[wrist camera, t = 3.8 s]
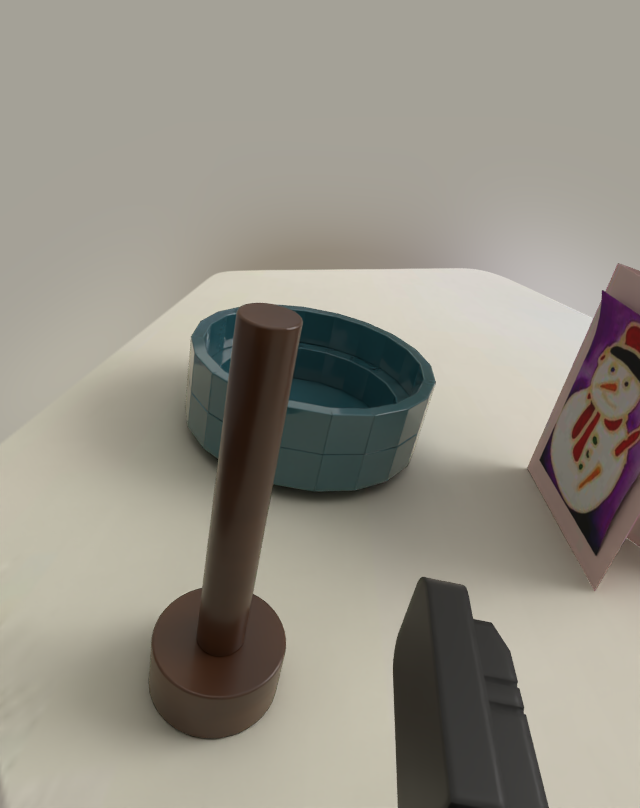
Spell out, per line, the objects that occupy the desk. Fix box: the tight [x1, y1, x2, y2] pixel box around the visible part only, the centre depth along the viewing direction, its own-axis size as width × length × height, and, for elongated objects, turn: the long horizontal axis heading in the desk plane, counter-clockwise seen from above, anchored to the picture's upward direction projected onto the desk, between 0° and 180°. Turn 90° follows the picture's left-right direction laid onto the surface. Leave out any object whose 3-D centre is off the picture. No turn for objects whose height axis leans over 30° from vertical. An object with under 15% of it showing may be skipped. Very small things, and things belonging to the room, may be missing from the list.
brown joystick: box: [149, 303, 303, 738], centre depth 19 cm, size 5×5×15 cm
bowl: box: [185, 305, 436, 492], centre depth 39 cm, size 16×16×6 cm
